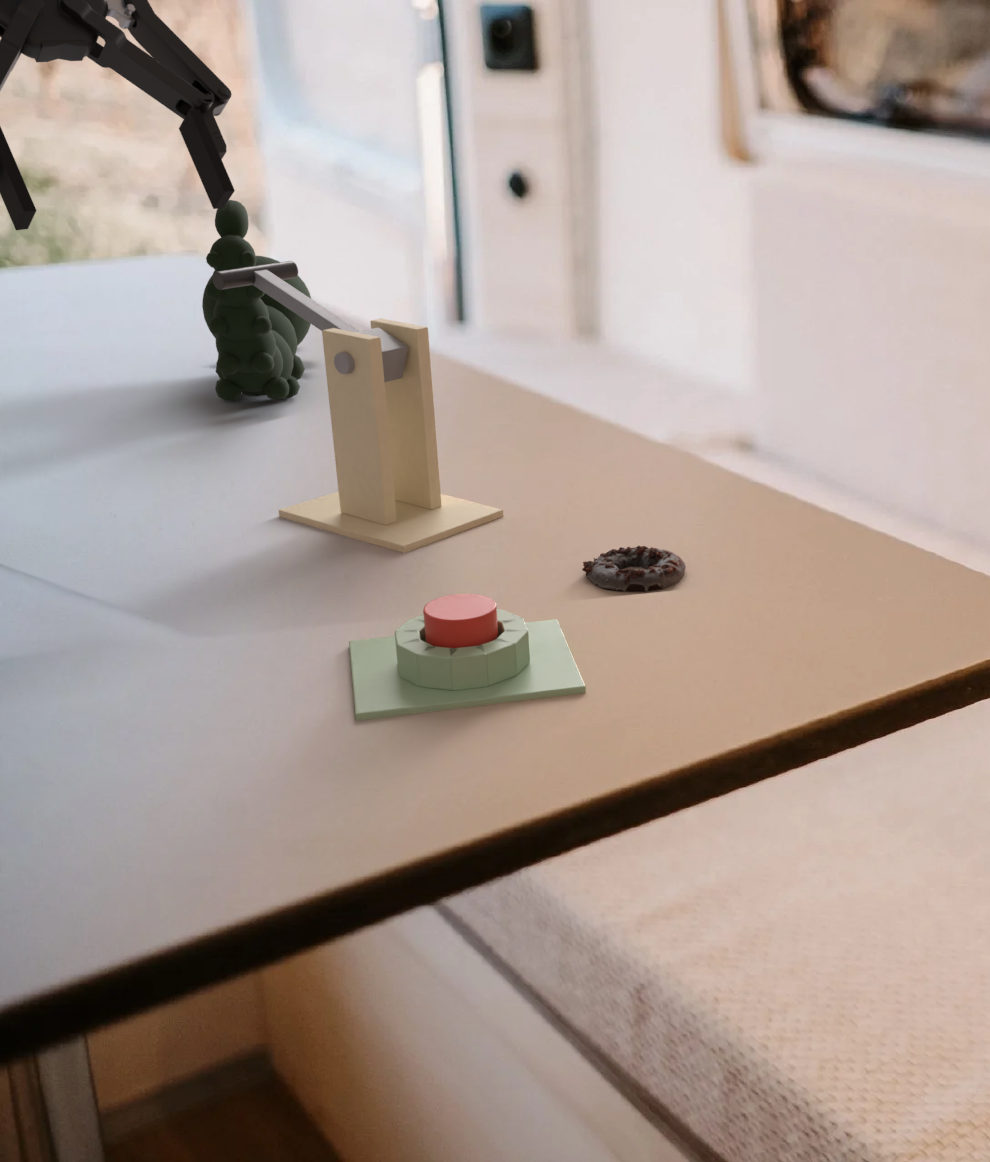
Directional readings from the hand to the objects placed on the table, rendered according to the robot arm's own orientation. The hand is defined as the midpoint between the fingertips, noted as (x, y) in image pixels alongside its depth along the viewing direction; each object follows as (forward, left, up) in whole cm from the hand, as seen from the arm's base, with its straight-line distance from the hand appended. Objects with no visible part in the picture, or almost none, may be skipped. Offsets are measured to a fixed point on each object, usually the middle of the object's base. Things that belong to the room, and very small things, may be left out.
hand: (129, 210), depth 102 cm
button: (+17, -45, -16) cm, 50 cm away
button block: (+17, -45, -19) cm, 52 cm away
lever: (+11, -12, -7) cm, 18 cm away
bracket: (+15, -16, -19) cm, 29 cm away
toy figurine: (+6, +25, -20) cm, 33 cm away
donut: (+29, -31, -20) cm, 47 cm away
